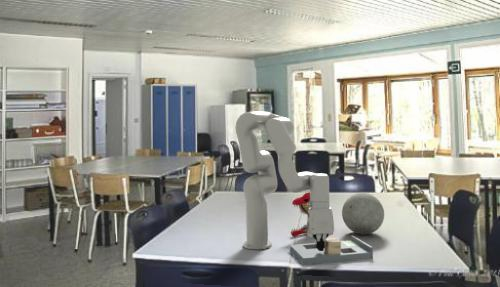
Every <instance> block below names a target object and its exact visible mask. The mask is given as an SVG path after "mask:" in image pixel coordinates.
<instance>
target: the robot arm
mask: <svg viewBox="0 0 500 287" xmlns="http://www.w3.org/2000/svg"><path fill="white" fill-rule="evenodd" d="M255 131H265V133H266V135H267V137H268V139H269V141H270V143H271V144H272V147H273V149H274V151H275V153H276V154H277V170H278V174H279V176H280V178H281V180H282V182H283V183H284V185H285V187H286V188H287V189H288V190H289V191H290V192H291V193H301V192H303V191H309V192H310V202H309V203H307V206H310V208H309V210H308V215H306V216H307V217H306V225H307V231H308V232H307V233H306V236H307V237H309V238H314V240H315V243H316V248H317V249H318V250H319V251H324V248H325V240H326V239H328V237H329V236H333V235H334V232H335V221H334V220H335V219H334V215H333V210H332V207H330V177H329V175H328V174H327V173H322V172H321V173H318V172H317V173H316V172H311V171H301V172H297V170H296V168H295V166H294V163H293V154H294V153H295V151H296V150H297V146H296V144H295V141H294V140H293V138H292V137H291V135H292V134H293V132H294V125H293V122H292V120H290V118H288V117H284V116H281V115H278V114H275V113H272V112H269V111H246V112H244V113H242V114H240V116H238V117H237V120H236V123H235V134H236V137H237V141H238V145H239V151H240V156H241V157H240V158H241V164H242V168H243V170H244V171H245V172H246V173H250V174H254V173H258V174H257V175H256V174H255V175H251V176H250V177H247V178H246V180H244V183H243V187H242V188H243V195H244V197H245V198H244V199H245V215H246V217H245V218H246V222H245V223H246V224H245V225H246V226H245V227H246V241H244V242H243V247H244V248H246V249H249V250H251V251H253V250H254V251H257V250H258V251H260V250H266V249H269V248H271V247H272V241H269V226H268V203H267V201H266V198H265V196H267V195H271V194H274V192H276V191H277V188H278V177H277V173H276V172H277V171H276V166H275V161H274V157H273V155H271V153H270V152H269V151H267V150H264V149H263V150H260V147H259V146H260V145H259V140H258V139H257V137H256V135H255V134H254V132H255Z"/></svg>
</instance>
